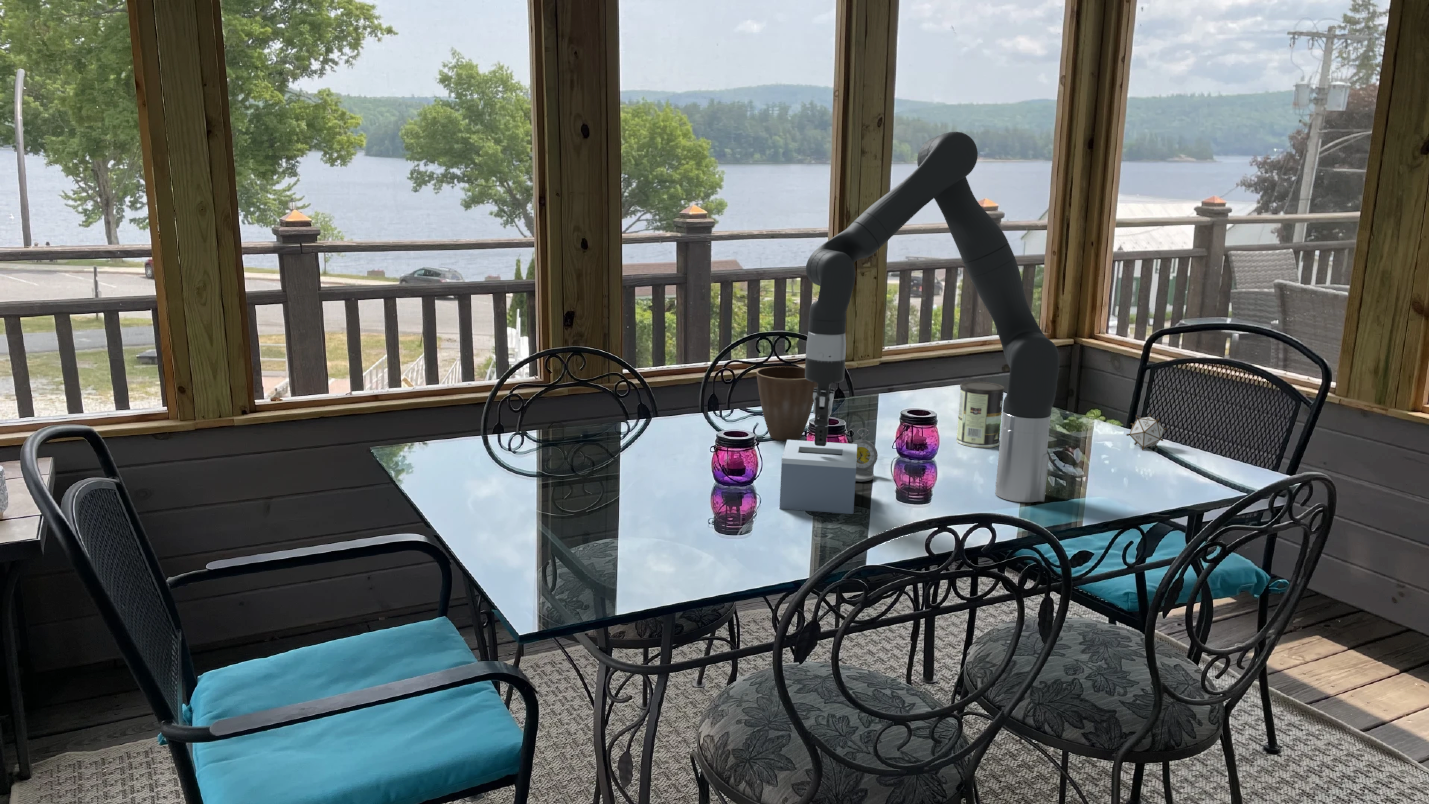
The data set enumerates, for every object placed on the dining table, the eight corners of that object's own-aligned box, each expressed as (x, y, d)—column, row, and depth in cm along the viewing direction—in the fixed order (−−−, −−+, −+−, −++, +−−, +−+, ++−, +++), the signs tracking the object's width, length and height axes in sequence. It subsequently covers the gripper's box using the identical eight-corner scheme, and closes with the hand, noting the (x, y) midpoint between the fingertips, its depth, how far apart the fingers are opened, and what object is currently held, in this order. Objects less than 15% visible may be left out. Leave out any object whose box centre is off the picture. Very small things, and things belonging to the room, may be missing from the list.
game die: (1151, 464, 254) (1177, 438, 247) (1119, 451, 254) (1144, 424, 247) (1148, 438, 261) (1173, 412, 254) (1117, 425, 260) (1141, 399, 253)
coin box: (854, 491, 213) (857, 444, 211) (853, 514, 200) (856, 463, 198) (784, 487, 215) (787, 439, 213) (779, 508, 202) (781, 458, 199)
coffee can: (993, 437, 260) (998, 381, 257) (1004, 448, 250) (1009, 390, 247) (951, 436, 260) (956, 380, 257) (960, 447, 250) (965, 389, 247)
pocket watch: (849, 483, 219) (851, 437, 217) (834, 472, 227) (836, 427, 224) (885, 481, 221) (888, 435, 219) (869, 470, 229) (872, 425, 227)
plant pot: (794, 449, 244) (797, 381, 240) (741, 437, 253) (744, 372, 249) (827, 437, 256) (831, 372, 252) (776, 426, 264) (779, 363, 261)
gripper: (844, 363, 194) (839, 452, 197) (846, 350, 208) (841, 433, 211) (803, 361, 195) (799, 449, 198) (807, 348, 209) (803, 431, 212)
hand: (821, 441), depth 205 cm, fingers open, 5 cm apart
